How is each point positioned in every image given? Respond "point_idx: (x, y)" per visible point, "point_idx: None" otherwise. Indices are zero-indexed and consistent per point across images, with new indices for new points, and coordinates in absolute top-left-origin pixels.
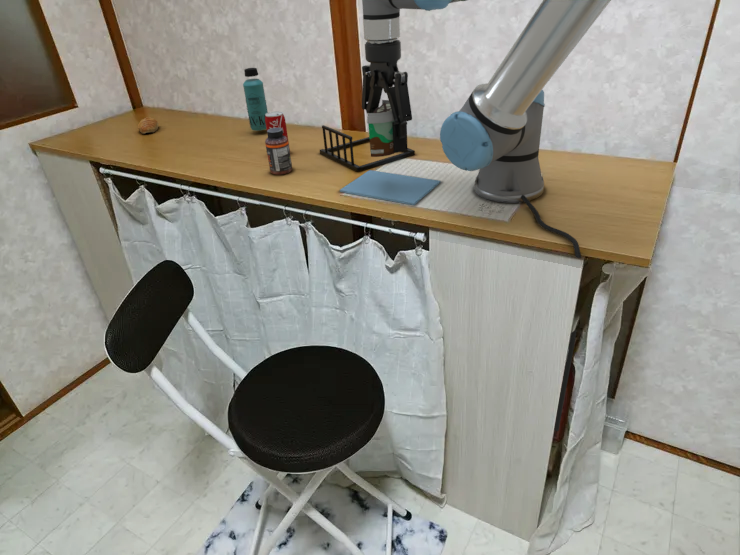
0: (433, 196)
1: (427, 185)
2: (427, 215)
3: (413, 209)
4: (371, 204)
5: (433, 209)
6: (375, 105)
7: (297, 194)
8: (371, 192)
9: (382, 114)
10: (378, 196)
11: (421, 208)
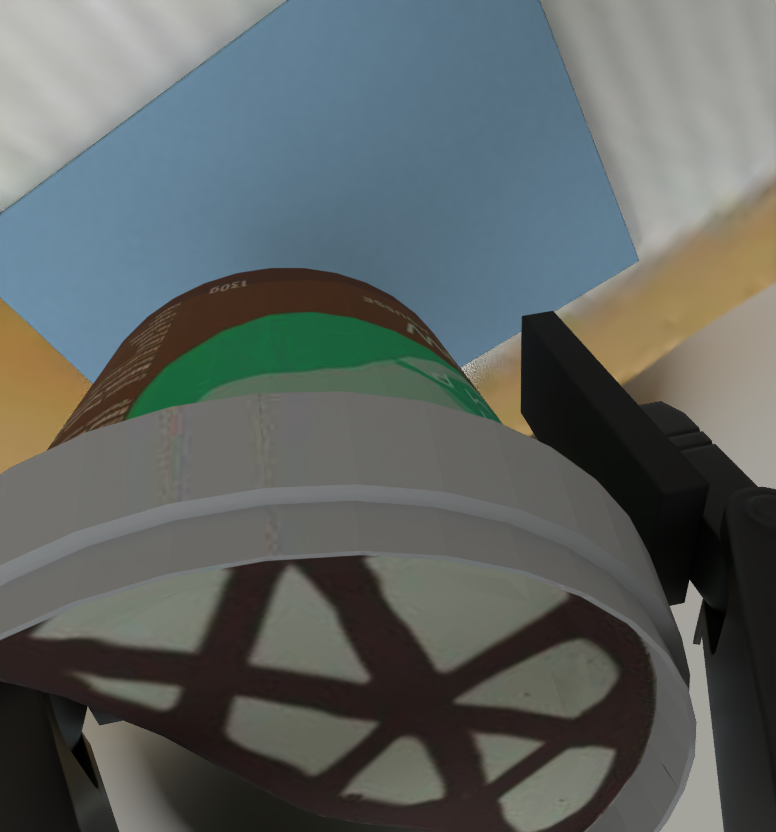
0: (628, 83)
1: (490, 26)
2: (769, 257)
3: (666, 282)
4: None
5: (750, 191)
6: (88, 788)
7: None
8: None
9: (646, 803)
10: None
11: (690, 241)
